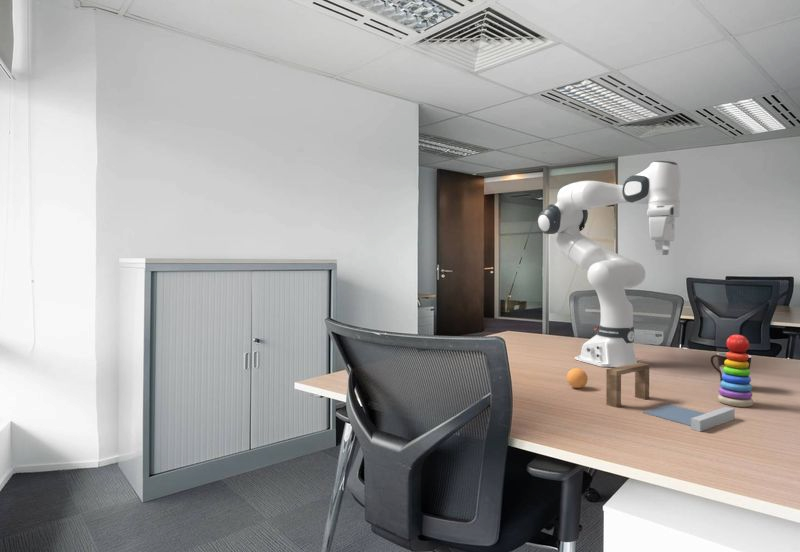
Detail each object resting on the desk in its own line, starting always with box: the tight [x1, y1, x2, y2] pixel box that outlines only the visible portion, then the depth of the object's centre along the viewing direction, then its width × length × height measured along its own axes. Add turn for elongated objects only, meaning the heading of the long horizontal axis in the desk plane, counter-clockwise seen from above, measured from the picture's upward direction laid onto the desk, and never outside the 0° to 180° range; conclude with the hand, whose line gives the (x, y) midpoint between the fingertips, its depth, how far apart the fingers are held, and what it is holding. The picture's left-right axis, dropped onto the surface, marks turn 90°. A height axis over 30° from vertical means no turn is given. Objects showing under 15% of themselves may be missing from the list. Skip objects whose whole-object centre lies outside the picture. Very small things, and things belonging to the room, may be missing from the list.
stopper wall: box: [690, 406, 736, 432], centre depth 115 cm, size 2×16×2 cm, turn 121°
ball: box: [566, 367, 589, 389], centre depth 148 cm, size 6×6×6 cm
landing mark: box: [642, 403, 706, 427], centre depth 122 cm, size 12×12×1 cm
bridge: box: [605, 362, 650, 408], centre depth 134 cm, size 3×15×10 cm, turn 122°
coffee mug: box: [710, 351, 752, 382], centre depth 148 cm, size 12×9×10 cm
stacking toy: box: [717, 334, 754, 408], centre depth 131 cm, size 8×8×19 cm
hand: (662, 255), depth 155 cm, fingers open, 8 cm apart
